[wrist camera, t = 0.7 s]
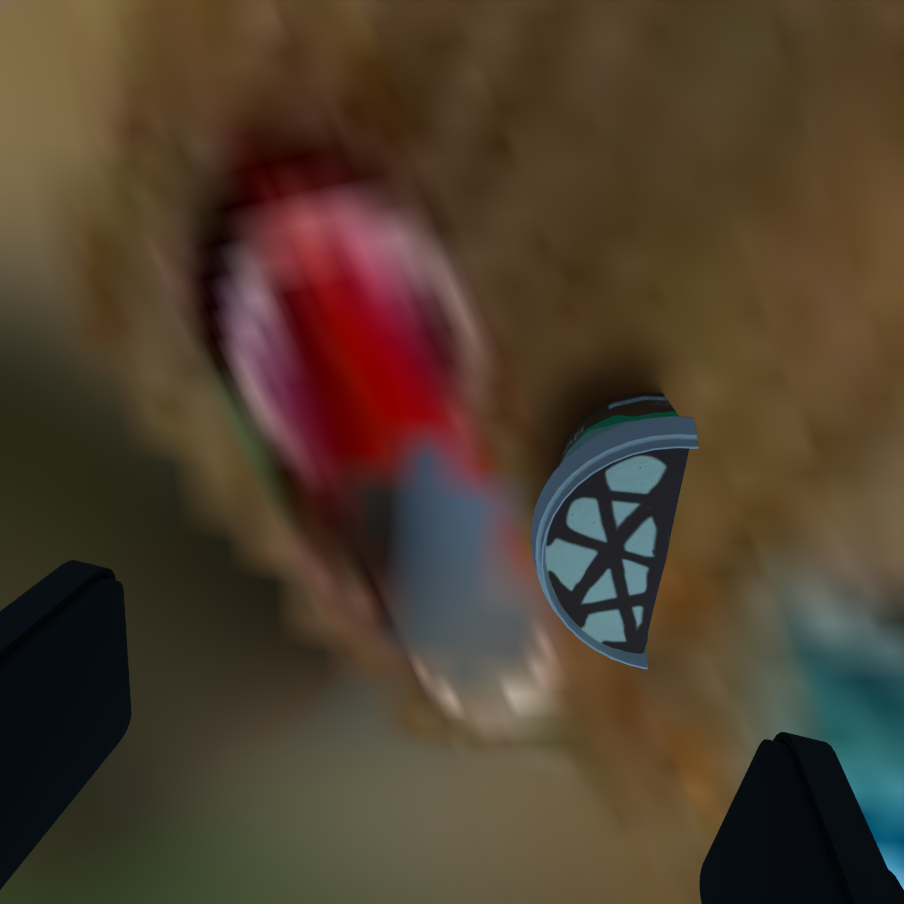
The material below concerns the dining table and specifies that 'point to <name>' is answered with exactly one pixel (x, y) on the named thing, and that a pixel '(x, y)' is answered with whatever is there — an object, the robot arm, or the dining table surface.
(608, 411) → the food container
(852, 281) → the dining table surface
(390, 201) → the dining table surface
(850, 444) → the dining table surface
